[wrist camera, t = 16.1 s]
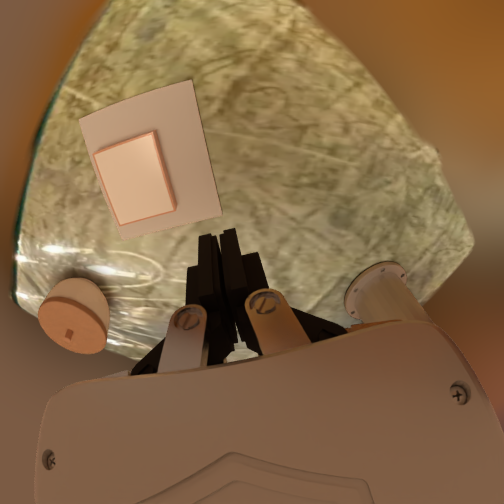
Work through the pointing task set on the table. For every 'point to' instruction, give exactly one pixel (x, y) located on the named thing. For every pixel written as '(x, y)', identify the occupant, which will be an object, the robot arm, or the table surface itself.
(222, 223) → the table surface
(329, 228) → the table surface
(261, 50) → the table surface
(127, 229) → the mat
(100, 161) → the block
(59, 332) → the lidded jar
